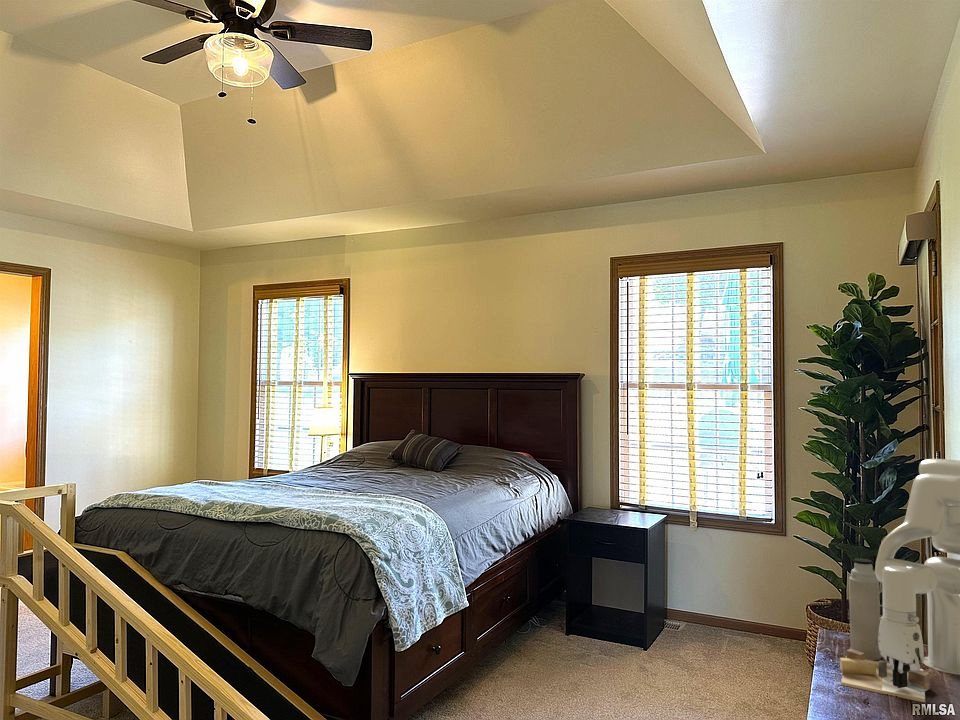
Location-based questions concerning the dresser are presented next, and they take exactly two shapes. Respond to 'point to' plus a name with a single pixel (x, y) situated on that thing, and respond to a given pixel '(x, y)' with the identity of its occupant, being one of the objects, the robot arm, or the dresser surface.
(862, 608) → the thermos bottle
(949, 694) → the dresser surface
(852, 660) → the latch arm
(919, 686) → the door board
